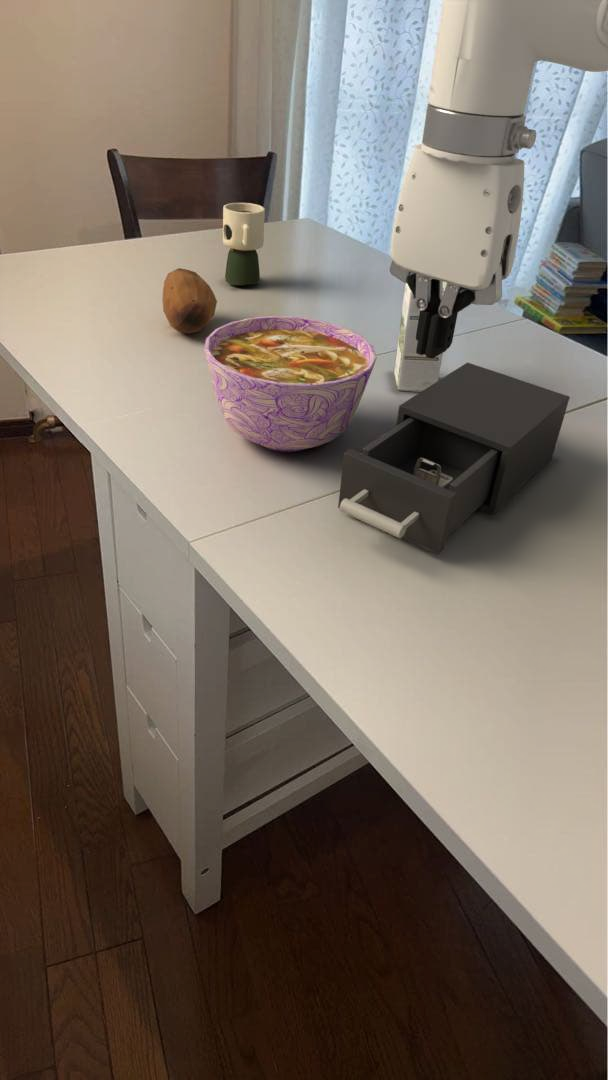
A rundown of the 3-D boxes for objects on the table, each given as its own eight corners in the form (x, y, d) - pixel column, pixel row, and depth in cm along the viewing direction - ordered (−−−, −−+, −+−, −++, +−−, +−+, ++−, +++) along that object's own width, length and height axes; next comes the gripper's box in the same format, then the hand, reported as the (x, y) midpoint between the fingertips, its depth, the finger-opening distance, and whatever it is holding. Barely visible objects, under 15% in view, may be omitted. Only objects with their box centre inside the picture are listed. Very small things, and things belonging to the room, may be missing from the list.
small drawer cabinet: (493, 515, 88) (510, 447, 83) (389, 471, 94) (399, 405, 89) (551, 459, 99) (570, 396, 94) (454, 423, 105) (467, 362, 100)
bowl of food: (396, 457, 97) (411, 368, 90) (249, 493, 88) (252, 398, 81) (314, 389, 111) (320, 307, 104) (179, 414, 102) (177, 327, 95)
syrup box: (437, 393, 112) (455, 291, 104) (395, 390, 112) (410, 288, 103) (431, 376, 117) (449, 277, 108) (391, 373, 117) (405, 274, 108)
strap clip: (431, 474, 90) (437, 441, 88) (454, 484, 89) (461, 451, 86) (390, 505, 85) (396, 470, 82) (415, 516, 83) (421, 481, 81)
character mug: (220, 273, 147) (220, 198, 140) (258, 273, 148) (261, 200, 141) (224, 293, 139) (225, 215, 131) (265, 294, 140) (268, 216, 132)
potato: (201, 359, 123) (158, 336, 118) (188, 309, 132) (147, 285, 126) (231, 324, 120) (188, 299, 115) (216, 275, 128) (175, 249, 123)
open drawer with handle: (418, 574, 77) (429, 516, 73) (314, 524, 83) (320, 468, 79) (505, 492, 90) (518, 440, 86) (410, 454, 96) (419, 403, 92)
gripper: (577, 147, 63) (522, 365, 73) (414, 115, 69) (385, 319, 80) (538, 157, 57) (485, 390, 68) (366, 122, 64) (343, 339, 75)
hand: (431, 351), depth 74 cm, fingers closed
